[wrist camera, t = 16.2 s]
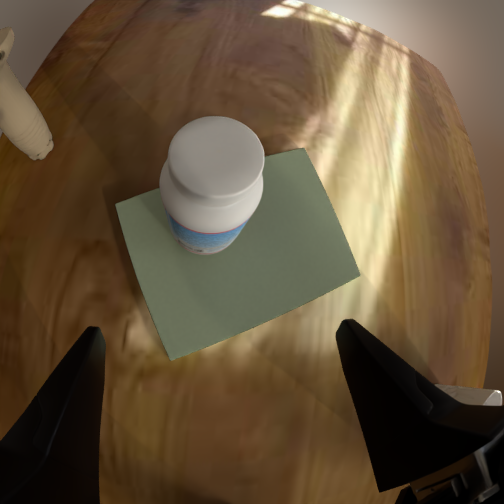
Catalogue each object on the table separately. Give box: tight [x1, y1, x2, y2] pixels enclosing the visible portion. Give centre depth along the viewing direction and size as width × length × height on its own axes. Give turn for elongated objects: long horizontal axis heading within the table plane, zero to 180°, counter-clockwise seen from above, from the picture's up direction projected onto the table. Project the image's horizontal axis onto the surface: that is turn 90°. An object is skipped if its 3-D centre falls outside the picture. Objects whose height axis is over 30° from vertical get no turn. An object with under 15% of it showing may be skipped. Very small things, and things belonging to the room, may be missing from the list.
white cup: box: [435, 384, 502, 406], centre depth 21 cm, size 8×8×10 cm
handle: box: [0, 27, 54, 160], centre depth 14 cm, size 5×6×15 cm
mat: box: [115, 148, 360, 361], centre depth 24 cm, size 19×14×1 cm
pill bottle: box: [159, 116, 264, 255], centre depth 18 cm, size 6×6×11 cm
